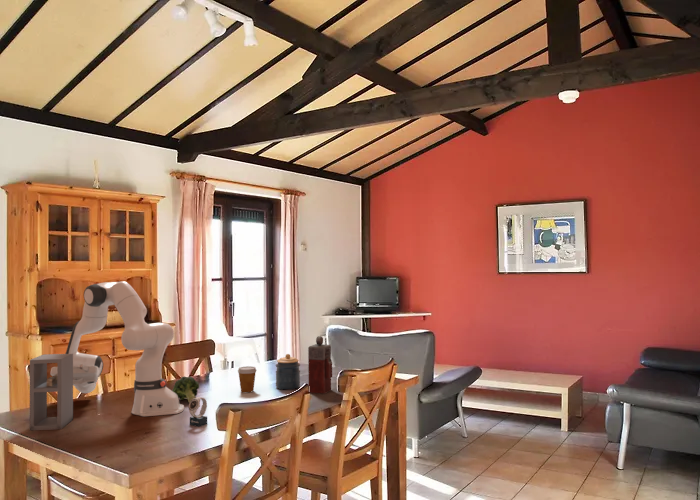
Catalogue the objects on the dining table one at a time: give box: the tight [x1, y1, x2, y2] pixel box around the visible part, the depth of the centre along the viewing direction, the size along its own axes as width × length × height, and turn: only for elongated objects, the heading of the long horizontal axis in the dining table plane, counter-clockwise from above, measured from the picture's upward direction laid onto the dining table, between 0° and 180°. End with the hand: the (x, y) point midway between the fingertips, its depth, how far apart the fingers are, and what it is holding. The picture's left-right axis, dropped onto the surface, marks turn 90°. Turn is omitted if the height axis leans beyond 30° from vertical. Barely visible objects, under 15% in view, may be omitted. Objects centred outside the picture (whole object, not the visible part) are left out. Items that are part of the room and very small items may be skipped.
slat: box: [47, 374, 57, 386], centre depth 247 cm, size 2×22×3 cm, turn 7°
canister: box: [275, 353, 301, 390], centre depth 307 cm, size 13×13×18 cm
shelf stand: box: [29, 353, 74, 431], centre depth 242 cm, size 12×18×28 cm, turn 7°
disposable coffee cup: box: [237, 365, 257, 393], centre depth 298 cm, size 10×10×12 cm
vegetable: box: [171, 376, 200, 404], centre depth 279 cm, size 12×13×15 cm
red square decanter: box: [307, 335, 333, 395], centre depth 297 cm, size 9×11×28 cm
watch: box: [188, 396, 208, 428], centre depth 238 cm, size 6×8×11 cm
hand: (70, 366), depth 261 cm, fingers open, 8 cm apart
